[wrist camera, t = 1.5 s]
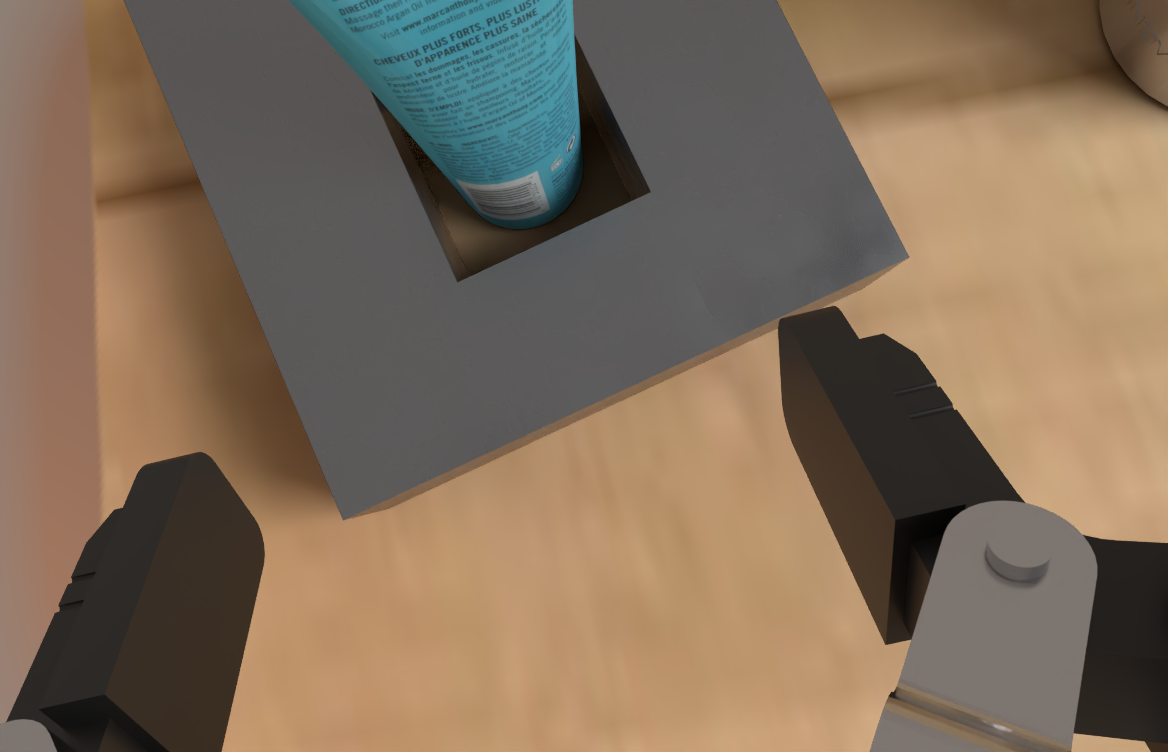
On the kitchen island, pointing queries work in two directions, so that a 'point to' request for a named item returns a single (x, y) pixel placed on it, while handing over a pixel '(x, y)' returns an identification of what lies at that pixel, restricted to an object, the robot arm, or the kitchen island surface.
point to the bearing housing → (536, 276)
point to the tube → (474, 92)
